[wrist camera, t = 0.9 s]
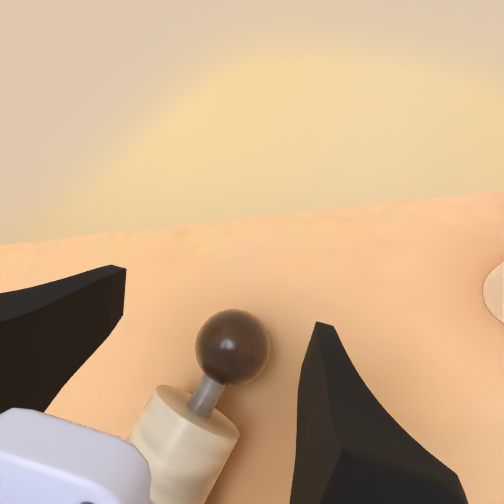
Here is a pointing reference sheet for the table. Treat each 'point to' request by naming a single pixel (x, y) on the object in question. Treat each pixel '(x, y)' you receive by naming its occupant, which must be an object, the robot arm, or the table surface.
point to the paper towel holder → (200, 411)
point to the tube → (495, 292)
